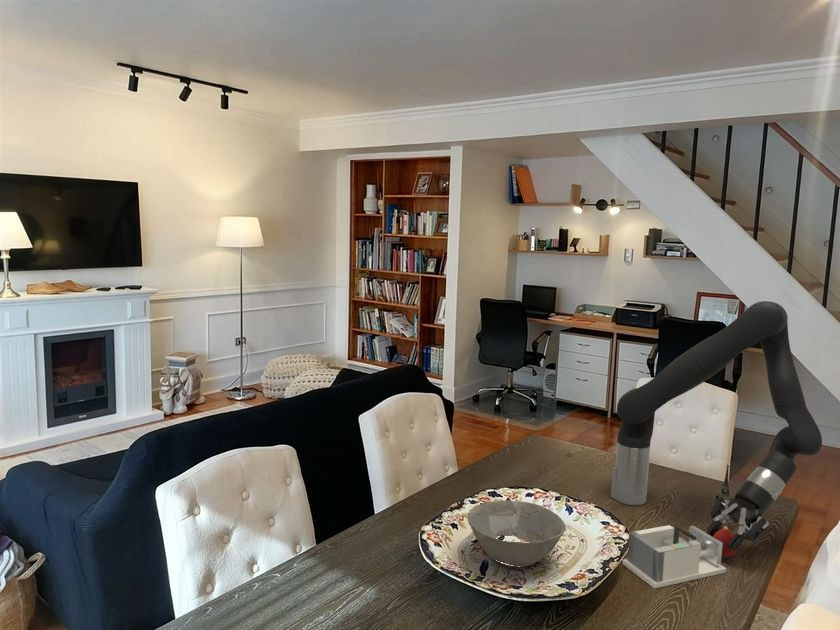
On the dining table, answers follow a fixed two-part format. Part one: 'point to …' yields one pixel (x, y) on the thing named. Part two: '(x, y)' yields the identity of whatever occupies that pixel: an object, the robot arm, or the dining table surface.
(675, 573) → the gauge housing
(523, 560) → the ceramic bowl
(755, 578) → the dining table surface
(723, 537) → the red pomegranate
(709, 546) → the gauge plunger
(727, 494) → the eiffel tower figurine
